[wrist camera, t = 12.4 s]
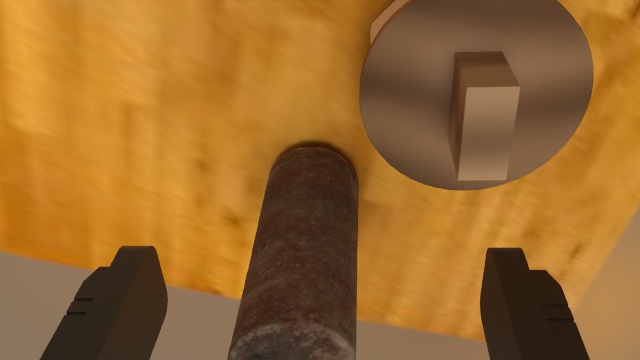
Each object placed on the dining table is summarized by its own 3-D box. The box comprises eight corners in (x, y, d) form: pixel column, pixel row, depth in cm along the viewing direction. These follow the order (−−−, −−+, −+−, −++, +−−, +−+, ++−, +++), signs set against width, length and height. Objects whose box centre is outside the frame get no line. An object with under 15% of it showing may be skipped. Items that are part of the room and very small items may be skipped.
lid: (358, -21, 35) (357, 12, 30) (610, -29, 34) (654, 5, 29) (360, 181, 43) (360, 235, 38) (564, 180, 42) (592, 236, 37)
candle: (299, 120, 46) (264, 309, 30) (377, 164, 48) (385, 365, 31) (254, 187, 50) (200, 388, 34) (328, 226, 52) (311, 434, 35)
